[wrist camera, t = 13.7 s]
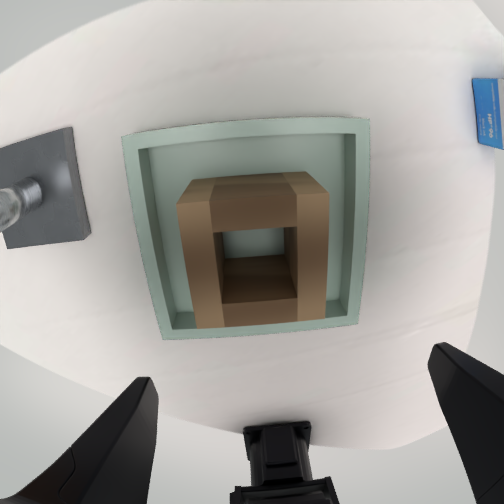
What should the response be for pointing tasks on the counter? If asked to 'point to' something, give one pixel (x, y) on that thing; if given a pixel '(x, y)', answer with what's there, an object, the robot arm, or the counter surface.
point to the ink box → (490, 111)
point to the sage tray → (258, 240)
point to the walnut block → (257, 267)
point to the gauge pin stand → (41, 192)
